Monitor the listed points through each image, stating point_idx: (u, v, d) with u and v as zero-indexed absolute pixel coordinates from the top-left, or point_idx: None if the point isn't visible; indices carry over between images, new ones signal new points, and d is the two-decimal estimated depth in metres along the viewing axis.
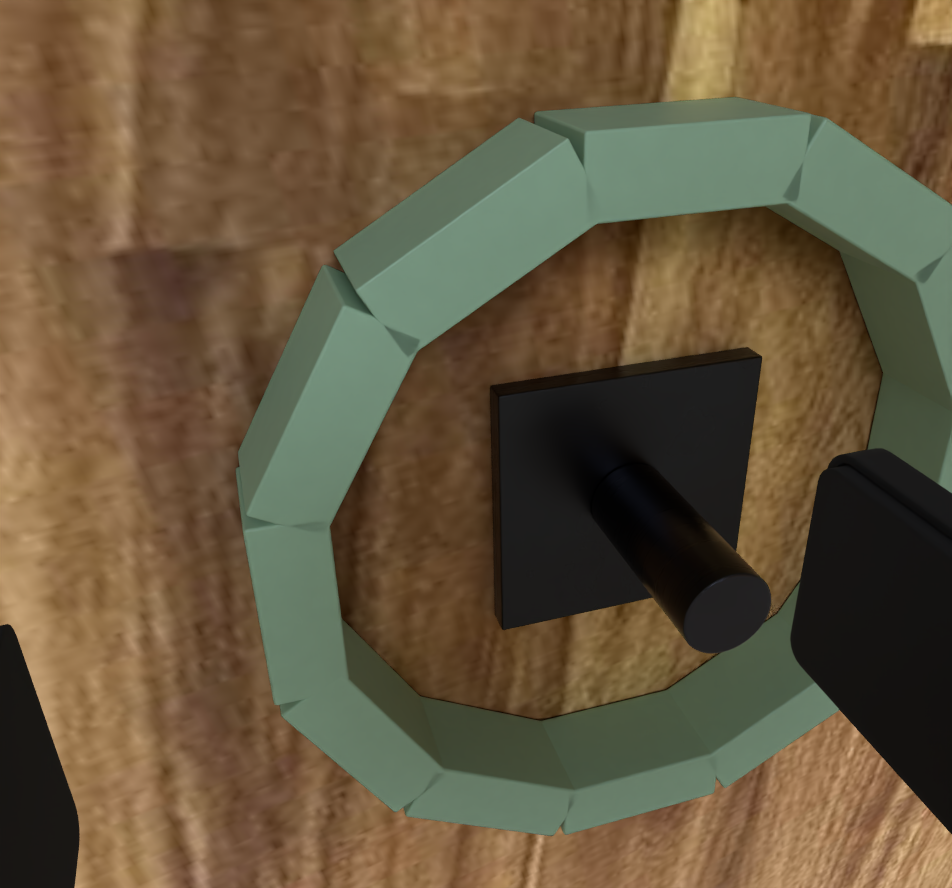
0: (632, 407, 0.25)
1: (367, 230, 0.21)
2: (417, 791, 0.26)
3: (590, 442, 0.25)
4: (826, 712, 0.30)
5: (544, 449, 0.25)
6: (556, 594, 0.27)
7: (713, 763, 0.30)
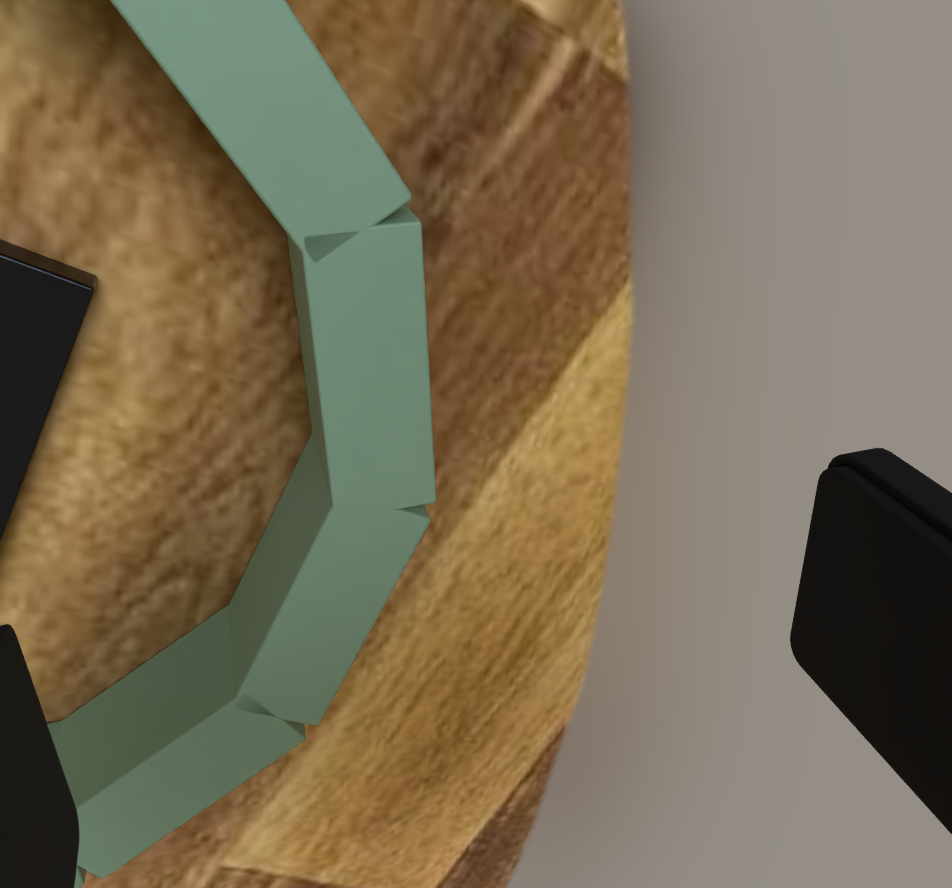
0: None
1: None
2: None
3: None
4: None
5: None
6: None
7: None
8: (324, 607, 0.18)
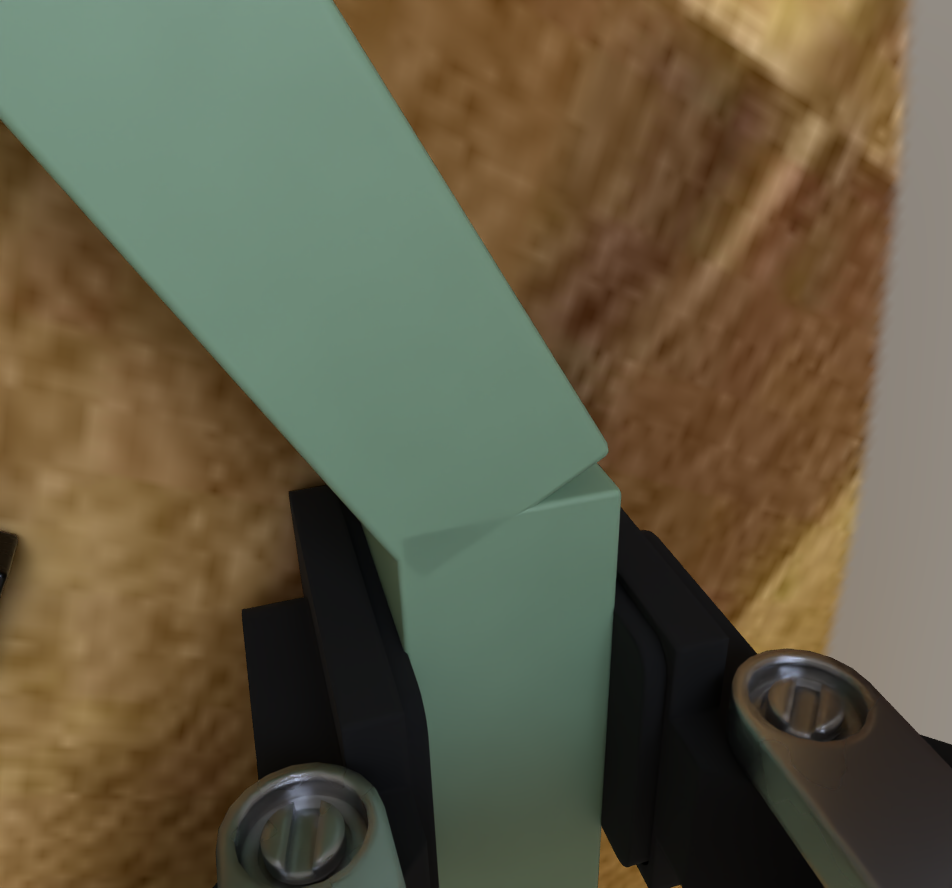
0: None
1: None
2: None
3: None
4: None
5: None
6: None
7: None
8: None
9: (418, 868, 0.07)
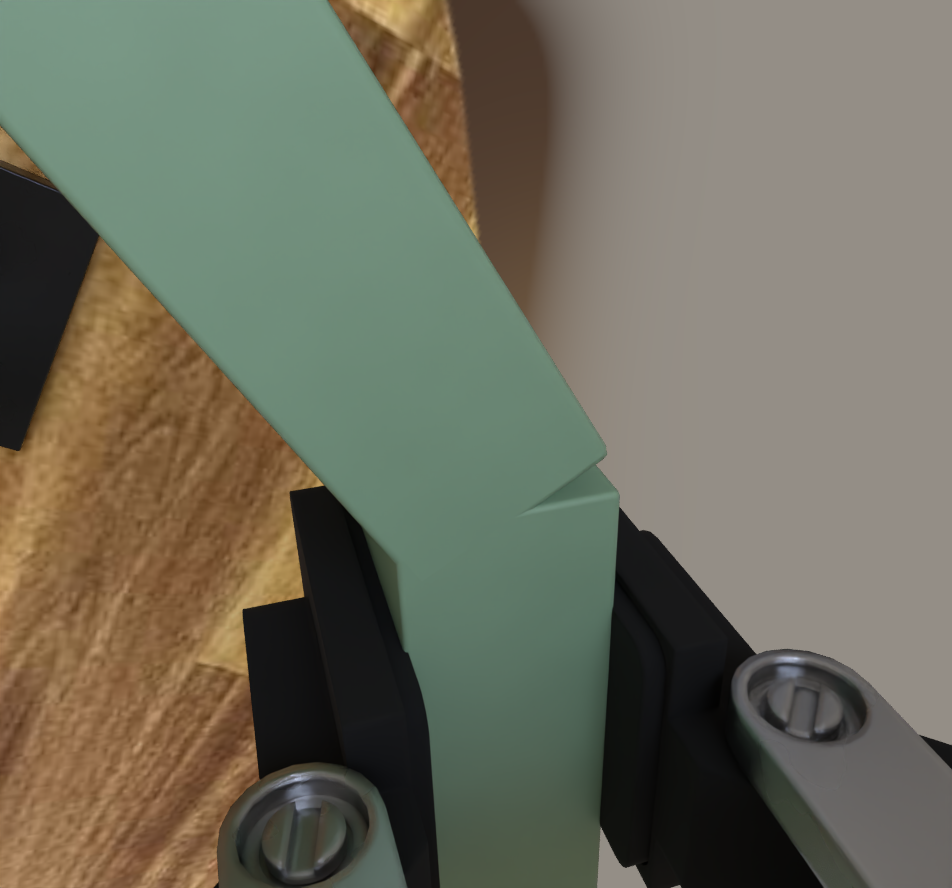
0: None
1: None
2: None
3: None
4: None
5: None
6: None
7: None
8: None
9: (419, 868, 0.07)
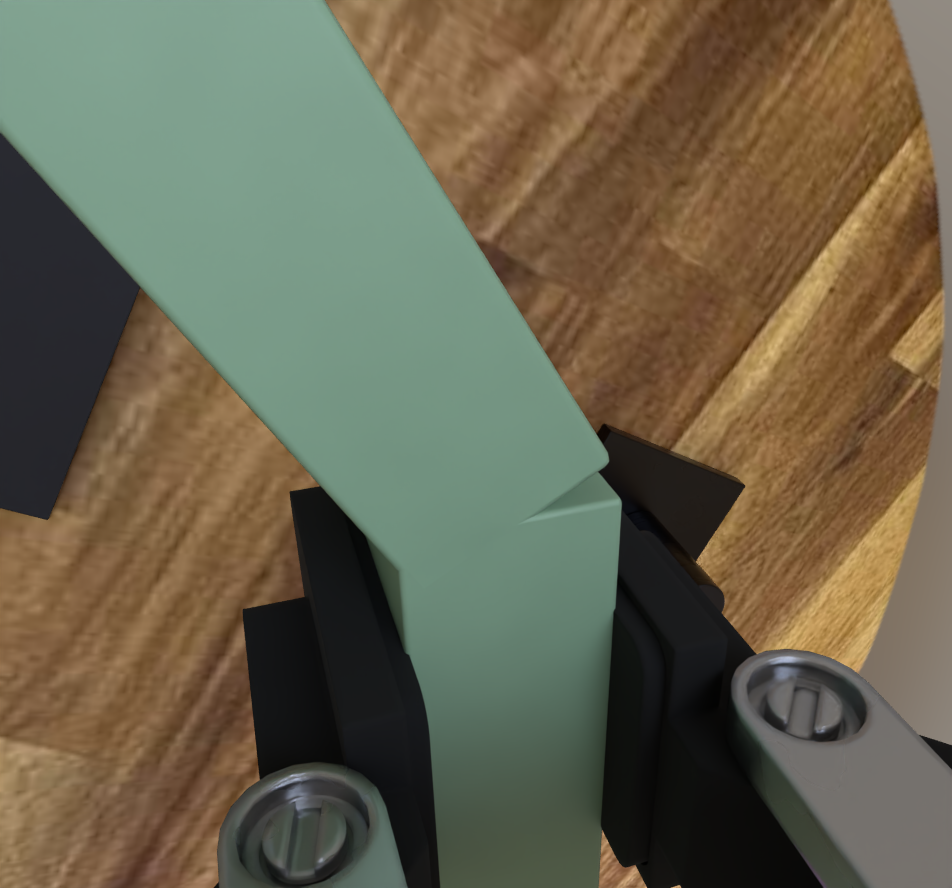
0: (669, 477, 0.39)
1: None
2: None
3: (637, 486, 0.39)
4: None
5: (613, 476, 0.38)
6: None
7: None
8: None
9: (419, 868, 0.07)
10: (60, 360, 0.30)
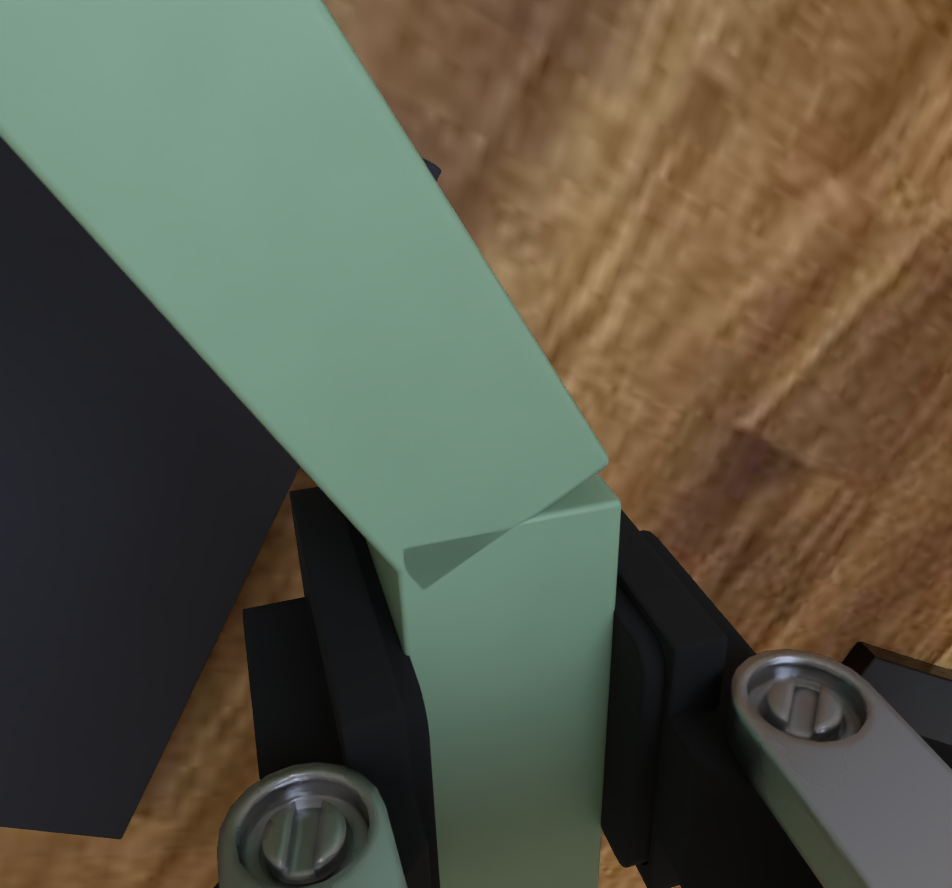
0: (936, 703, 0.29)
1: None
2: None
3: None
4: None
5: None
6: None
7: None
8: None
9: (419, 868, 0.07)
10: (147, 639, 0.20)
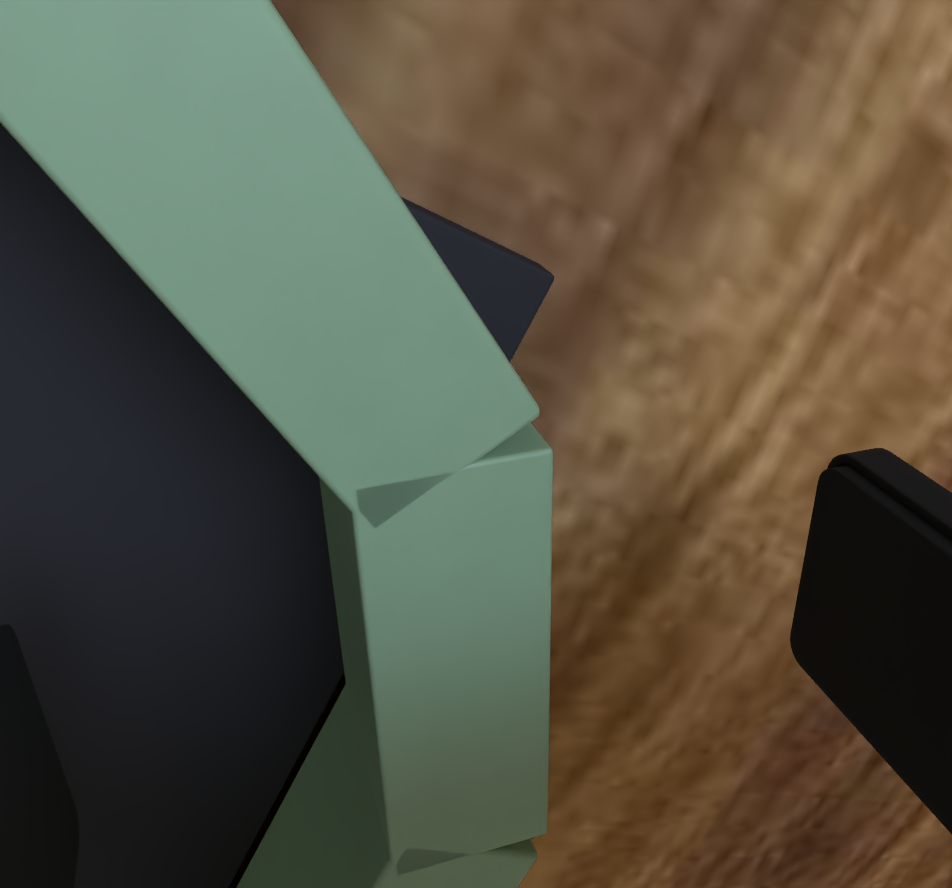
0: None
1: None
2: None
3: None
4: None
5: None
6: None
7: None
8: None
9: None
10: None
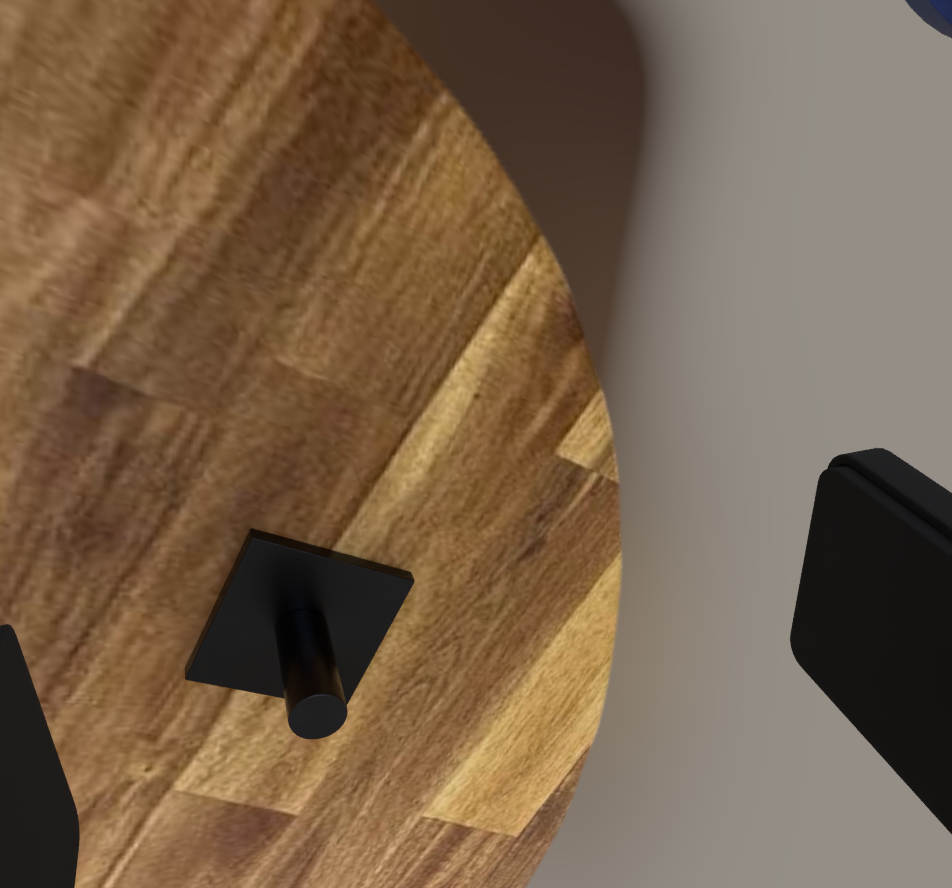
0: (327, 577, 0.40)
1: None
2: None
3: (293, 586, 0.40)
4: None
5: (264, 579, 0.39)
6: (230, 671, 0.41)
7: None
8: None
9: None
10: None
